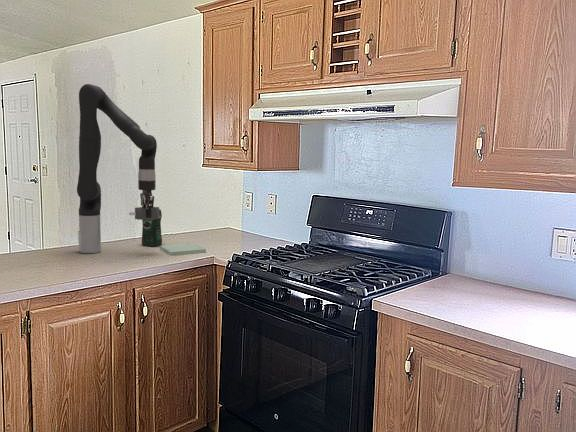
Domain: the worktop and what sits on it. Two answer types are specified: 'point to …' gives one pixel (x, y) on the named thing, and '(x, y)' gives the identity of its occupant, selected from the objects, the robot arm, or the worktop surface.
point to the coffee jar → (152, 231)
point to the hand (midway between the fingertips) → (147, 216)
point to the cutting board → (182, 249)
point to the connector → (141, 213)
